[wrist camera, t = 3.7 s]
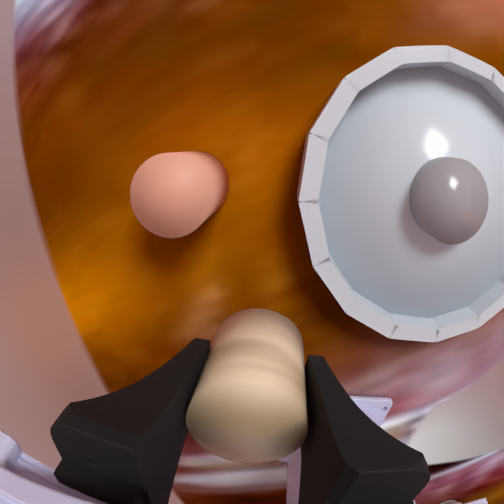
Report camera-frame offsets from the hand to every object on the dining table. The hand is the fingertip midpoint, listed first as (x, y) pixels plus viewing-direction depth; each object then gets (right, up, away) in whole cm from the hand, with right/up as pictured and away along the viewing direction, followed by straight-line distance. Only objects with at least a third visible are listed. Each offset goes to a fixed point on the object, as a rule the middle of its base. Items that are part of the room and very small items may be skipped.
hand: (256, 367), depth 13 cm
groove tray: (+12, +8, +5) cm, 15 cm away
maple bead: (0, +1, +1) cm, 1 cm away
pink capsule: (-4, +9, +6) cm, 11 cm away
